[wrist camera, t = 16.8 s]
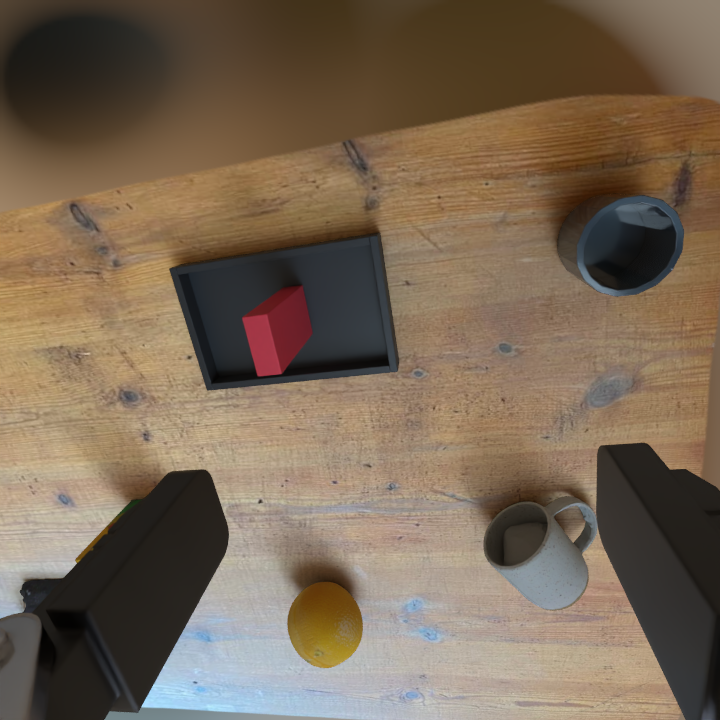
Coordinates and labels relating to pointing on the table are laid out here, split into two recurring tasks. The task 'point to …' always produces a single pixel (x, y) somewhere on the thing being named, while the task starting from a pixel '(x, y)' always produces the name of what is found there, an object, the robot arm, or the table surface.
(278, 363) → the block
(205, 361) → the tray
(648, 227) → the cup
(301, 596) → the fruit
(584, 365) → the table surface
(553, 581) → the ceramic mug
